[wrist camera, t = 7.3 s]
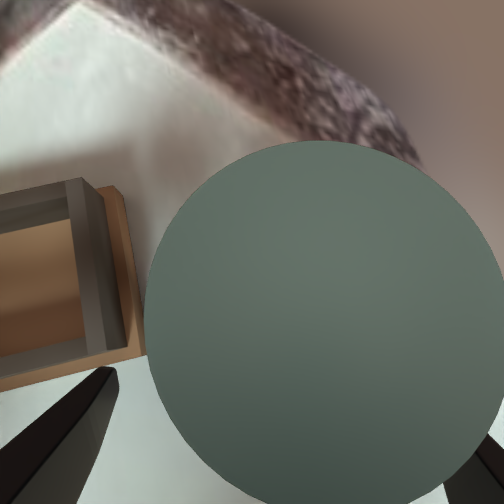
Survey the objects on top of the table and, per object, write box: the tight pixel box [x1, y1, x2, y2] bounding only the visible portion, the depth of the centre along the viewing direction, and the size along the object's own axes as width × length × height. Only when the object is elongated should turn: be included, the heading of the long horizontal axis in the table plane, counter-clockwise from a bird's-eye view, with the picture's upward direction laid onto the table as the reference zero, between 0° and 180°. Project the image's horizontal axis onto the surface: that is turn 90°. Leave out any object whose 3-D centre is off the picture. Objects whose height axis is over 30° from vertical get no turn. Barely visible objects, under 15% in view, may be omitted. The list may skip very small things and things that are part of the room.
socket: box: [0, 177, 147, 392], centre depth 16 cm, size 9×9×4 cm
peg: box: [144, 141, 504, 504], centre depth 10 cm, size 5×5×13 cm
